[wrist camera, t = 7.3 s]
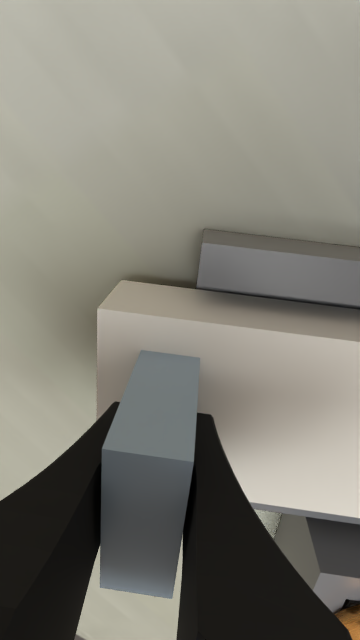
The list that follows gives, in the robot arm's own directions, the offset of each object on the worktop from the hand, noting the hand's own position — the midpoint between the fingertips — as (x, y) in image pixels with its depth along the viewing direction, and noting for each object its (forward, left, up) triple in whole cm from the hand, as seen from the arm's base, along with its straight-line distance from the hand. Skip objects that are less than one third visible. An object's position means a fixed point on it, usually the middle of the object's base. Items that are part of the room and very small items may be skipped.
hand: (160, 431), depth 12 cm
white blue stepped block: (-4, 0, -4) cm, 5 cm away
